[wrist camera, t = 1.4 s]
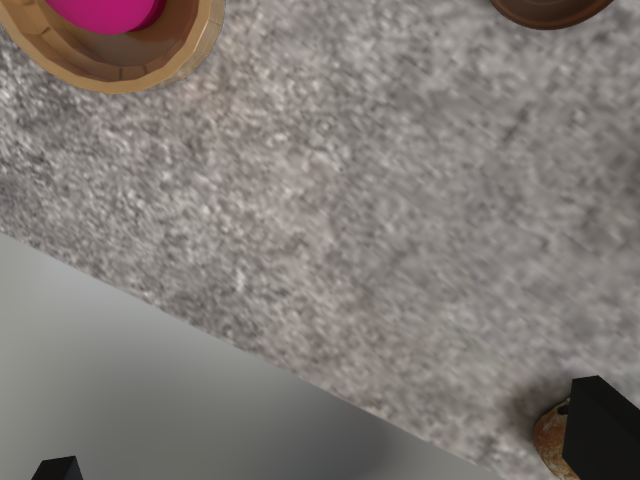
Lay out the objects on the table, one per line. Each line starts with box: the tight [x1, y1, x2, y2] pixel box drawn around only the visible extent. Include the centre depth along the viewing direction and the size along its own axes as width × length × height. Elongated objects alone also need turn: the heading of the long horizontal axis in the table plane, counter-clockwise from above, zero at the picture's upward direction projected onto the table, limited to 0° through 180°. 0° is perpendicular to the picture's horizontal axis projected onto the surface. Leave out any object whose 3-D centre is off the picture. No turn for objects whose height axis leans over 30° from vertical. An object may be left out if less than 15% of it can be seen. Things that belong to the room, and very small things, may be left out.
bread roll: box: [533, 398, 580, 480], centre depth 46 cm, size 10×10×8 cm
